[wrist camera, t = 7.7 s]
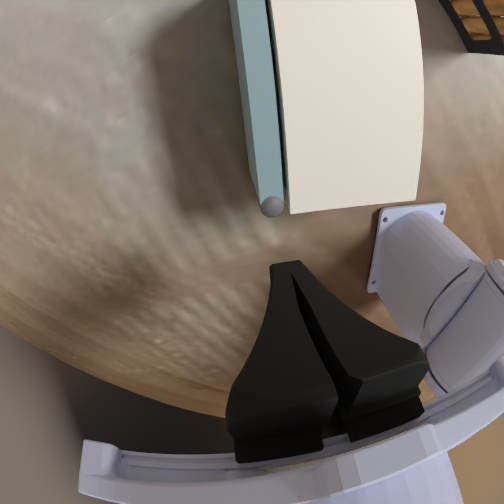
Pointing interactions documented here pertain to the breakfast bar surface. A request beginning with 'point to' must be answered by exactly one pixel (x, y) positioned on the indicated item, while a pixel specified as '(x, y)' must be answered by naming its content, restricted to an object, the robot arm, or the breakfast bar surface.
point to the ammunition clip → (478, 24)
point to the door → (258, 102)
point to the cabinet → (347, 101)
